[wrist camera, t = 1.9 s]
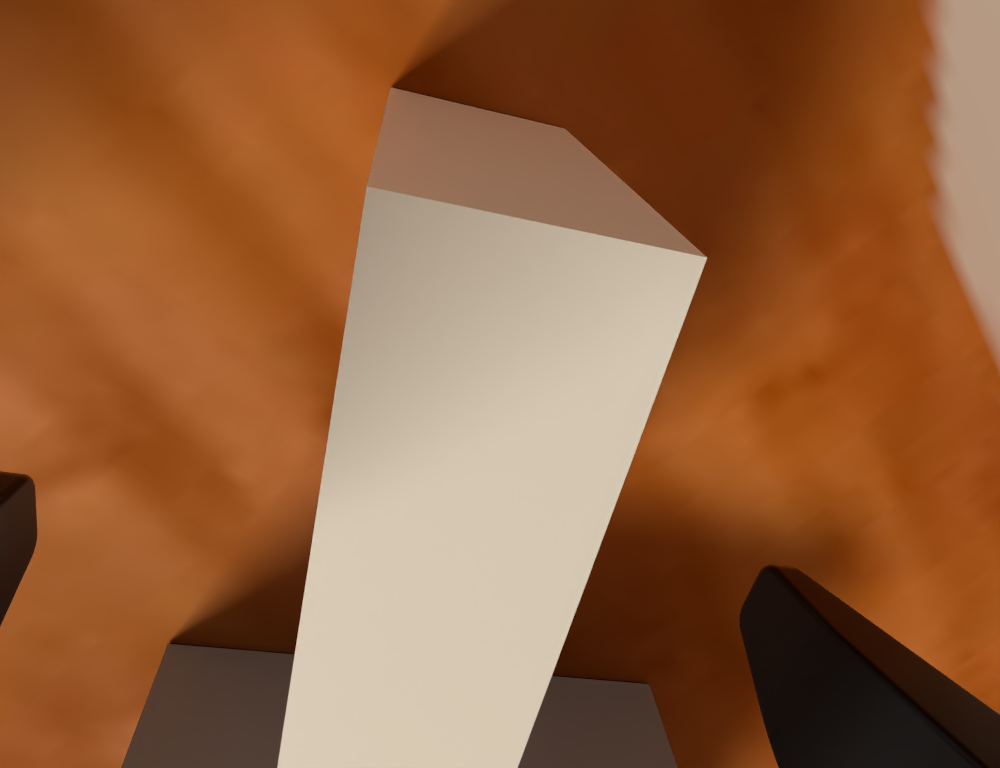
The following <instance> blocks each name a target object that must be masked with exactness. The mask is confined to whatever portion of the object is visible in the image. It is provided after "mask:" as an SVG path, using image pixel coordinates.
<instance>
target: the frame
mask: <svg viewBox="0 0 1000 768" xmlns="http://www.w3.org/2000/svg"><path fill="white" fill-rule="evenodd" d="M294 655H295V654H284V653H272V652H260V651H248V650H236V649H225V648H213V647H201V646H189V645H177V644H168V645H167V647H166V650H165V653H164V655H163V658H162V661H161V663H160V666H159V669H158V671H157V674H156V677H155V679H154V682H153V685H152V687H151V690H150V693H149V695H148V698H147V701H146V703H145V706H144V709H143V711H142V714H141V717H140V719H139V722H138V725H137V727H136V730H135V732H134V735H133V738H132V740H131V743H130V746H129V748H128V751H127V754H126V756H125V759H124V762H123V764H122V767H121V768H277V766H278V759H279V753H280V746H281V740H282V733H283V727H284V720H285V714H286V707H287V701H288V694H289V688H290V681H291V675H292V668H293V662H294ZM518 768H678V767H677V764H676V761H675V758H674V755H673V752H672V749H671V746H670V743H669V740H668V737H667V735H666V732H665V729H664V726H663V723H662V720H661V717H660V714H659V711H658V708H657V705H656V702H655V699H654V696H653V693H652V690H651V688H650V685H649V684H641V683H629V682H617V681H606V680H594V679H582V678H570V677H558V676H552V677H551V679H550V682H549V685H548V687H547V690H546V693H545V696H544V698H543V701H542V704H541V706H540V709H539V712H538V714H537V717H536V720H535V722H534V725H533V728H532V731H531V733H530V736H529V739H528V741H527V744H526V747H525V749H524V752H523V755H522V757H521V760H520V763H519V765H518Z"/></svg>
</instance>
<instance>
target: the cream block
mask: <svg viewBox="0 0 1000 768" xmlns="http://www.w3.org/2000/svg"><path fill="white" fill-rule="evenodd" d="M706 260H707V257H706V256H705V255H704V254H703V253H702V252H701V251H700V250H698V249H697V248H696V247H695V246H694V245H693V244H692V243H691V242H690V241H689V240H687V239H686V238H685V237H684V236H683V235H682V234H681V233H680V232H679V231H677V230H676V229H675V228H674V227H673V226H672V225H671V224H670V223H669V222H668V221H666V220H665V219H664V218H663V217H662V216H661V215H660V214H659V213H658V212H657V211H655V210H654V209H653V208H652V207H651V206H650V205H649V204H648V203H647V202H645V201H644V200H643V199H642V198H641V197H640V196H639V195H638V194H637V193H636V192H634V191H633V190H632V189H631V188H630V187H629V186H628V185H627V184H626V183H624V182H623V181H622V180H621V179H620V178H619V177H618V176H617V175H616V174H615V173H613V172H612V171H611V170H610V169H609V168H608V167H607V166H606V165H605V164H604V163H602V162H601V161H600V160H599V159H598V158H597V157H596V156H595V155H594V154H592V153H591V152H590V151H589V150H588V149H587V148H586V147H585V146H584V145H583V144H581V143H580V142H579V141H578V140H577V139H576V138H575V137H574V136H573V135H572V134H570V133H569V132H568V131H567V130H566V129H565V128H560V127H556V126H552V125H548V124H544V123H539V122H535V121H531V120H527V119H522V118H518V117H514V116H510V115H506V114H501V113H497V112H493V111H489V110H485V109H480V108H476V107H472V106H468V105H463V104H459V103H455V102H451V101H447V100H442V99H438V98H434V97H430V96H425V95H421V94H417V93H413V92H409V91H404V90H400V89H396V88H392V87H390V91H389V95H388V99H387V104H386V108H385V112H384V116H383V120H382V125H381V129H380V133H379V137H378V141H377V146H376V150H375V154H374V158H373V162H372V167H371V171H370V175H369V179H368V183H367V188H366V195H365V201H364V208H363V214H362V221H361V227H360V234H359V240H358V247H357V253H356V260H355V266H354V272H353V279H352V285H351V292H350V298H349V305H348V311H347V318H346V324H345V331H344V337H343V344H342V350H341V357H340V363H339V370H338V376H337V383H336V389H335V396H334V402H333V409H332V415H331V422H330V428H329V435H328V441H327V448H326V454H325V461H324V467H323V474H322V480H321V487H320V493H319V500H318V506H317V513H316V519H315V525H314V532H313V538H312V545H311V551H310V558H309V564H308V571H307V577H306V584H305V590H304V597H303V603H302V610H301V616H300V623H299V629H298V636H297V642H296V649H295V655H294V662H293V668H292V675H291V681H290V688H289V694H288V701H287V707H286V714H285V720H284V727H283V733H282V740H281V746H280V753H279V759H278V766H277V768H518V765H519V763H520V760H521V757H522V755H523V752H524V749H525V747H526V744H527V741H528V739H529V736H530V733H531V731H532V728H533V725H534V722H535V720H536V717H537V714H538V712H539V709H540V706H541V704H542V701H543V698H544V696H545V693H546V690H547V687H548V685H549V682H550V679H551V677H552V674H553V671H554V669H555V666H556V663H557V661H558V658H559V655H560V653H561V650H562V647H563V644H564V642H565V639H566V636H567V634H568V631H569V628H570V626H571V623H572V620H573V618H574V615H575V612H576V610H577V607H578V604H579V601H580V599H581V596H582V593H583V591H584V588H585V585H586V583H587V580H588V577H589V575H590V572H591V569H592V567H593V564H594V561H595V558H596V556H597V553H598V550H599V548H600V545H601V542H602V540H603V537H604V534H605V532H606V529H607V526H608V524H609V521H610V518H611V515H612V513H613V510H614V507H615V505H616V502H617V499H618V497H619V494H620V491H621V489H622V486H623V483H624V481H625V478H626V475H627V472H628V470H629V467H630V464H631V462H632V459H633V456H634V454H635V451H636V448H637V446H638V443H639V440H640V438H641V435H642V432H643V429H644V427H645V424H646V421H647V419H648V416H649V413H650V411H651V408H652V405H653V403H654V400H655V397H656V394H657V392H658V389H659V386H660V384H661V381H662V378H663V376H664V373H665V370H666V368H667V365H668V362H669V360H670V357H671V354H672V351H673V349H674V346H675V343H676V341H677V338H678V335H679V333H680V330H681V327H682V325H683V322H684V319H685V317H686V314H687V311H688V308H689V306H690V303H691V300H692V298H693V295H694V292H695V290H696V287H697V284H698V282H699V279H700V276H701V274H702V271H703V268H704V265H705V263H706Z"/></svg>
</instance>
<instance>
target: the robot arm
mask: <svg viewBox="0 0 1000 768" xmlns="http://www.w3.org/2000/svg"><path fill="white" fill-rule="evenodd" d="M36 541H37V517H36V497H35V485H34V482H33V480H32V478H30V477H29V476H28V475H25V474H18V473H10V472H1V471H0V626H1V623H2V621H3V619H4V617H5V615H6V612H7V610H8V608H9V606H10V604H11V602H12V599H13V597H14V595H15V593H16V591H17V588H18V586H19V584H20V582H21V580H22V577H23V575H24V573H25V571H26V569H27V566H28V564H29V562H30V560H31V558H32V555H33V553H34V550H35V546H36ZM740 629H741V633H742V637H743V641H744V645H745V649H746V653H747V657H748V661H749V665H750V669H751V673H752V677H753V681H754V685H755V689H756V693H757V697H758V701H759V705H760V709H761V713H762V717H763V720H764V724H765V727H766V731H767V734H768V738H769V741H770V744H771V747H772V750H773V753H774V756H775V758H776V761H777V764H778V767H779V768H1000V714H998V713H997V712H995V711H994V710H993V709H991V708H990V707H988V706H987V705H986V704H984V703H983V702H981V701H980V700H979V699H977V698H976V697H975V696H973V695H972V694H970V693H969V692H968V691H966V690H965V689H963V688H962V687H961V686H959V685H958V684H957V683H955V682H954V681H952V680H951V679H950V678H948V677H947V676H945V675H944V674H943V673H941V672H940V671H939V670H937V669H936V668H934V667H933V666H932V665H930V664H929V663H927V662H926V661H925V660H923V659H922V658H921V657H919V656H918V655H916V654H915V653H914V652H912V651H911V650H909V649H908V648H907V647H905V646H904V645H902V644H901V643H900V642H898V641H897V640H896V639H894V638H893V637H891V636H890V635H889V634H887V633H886V632H884V631H883V630H882V629H880V628H879V627H878V626H876V625H875V624H873V623H872V622H871V621H869V620H868V619H866V618H865V617H864V616H862V615H861V614H860V613H858V612H857V611H855V610H854V609H853V608H851V607H850V606H848V605H847V604H846V603H844V602H843V601H841V600H840V599H839V598H837V597H836V596H835V595H833V594H832V593H830V592H829V591H828V590H826V589H825V588H823V587H822V586H821V585H819V584H818V583H817V582H815V581H814V580H812V579H811V578H810V577H808V576H807V575H805V574H804V573H803V572H801V571H800V570H798V569H796V568H793V567H786V566H778V565H768V566H765V567H764V568H763V569H762V570H761V571H760V573H759V574H758V576H757V578H756V580H755V582H754V584H753V586H752V588H751V590H750V592H749V594H748V596H747V598H746V600H745V602H744V604H743V606H742V609H741V613H740Z"/></svg>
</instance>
